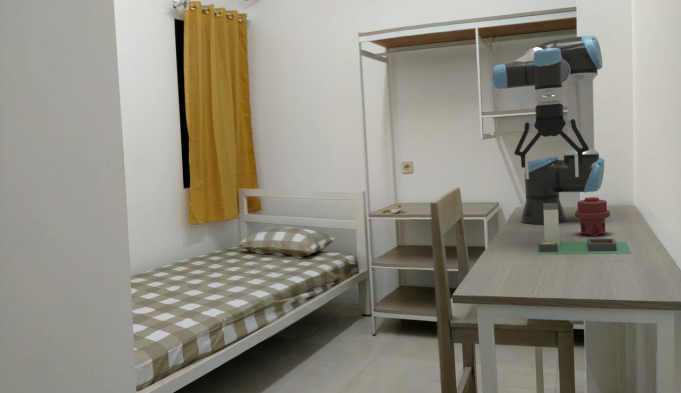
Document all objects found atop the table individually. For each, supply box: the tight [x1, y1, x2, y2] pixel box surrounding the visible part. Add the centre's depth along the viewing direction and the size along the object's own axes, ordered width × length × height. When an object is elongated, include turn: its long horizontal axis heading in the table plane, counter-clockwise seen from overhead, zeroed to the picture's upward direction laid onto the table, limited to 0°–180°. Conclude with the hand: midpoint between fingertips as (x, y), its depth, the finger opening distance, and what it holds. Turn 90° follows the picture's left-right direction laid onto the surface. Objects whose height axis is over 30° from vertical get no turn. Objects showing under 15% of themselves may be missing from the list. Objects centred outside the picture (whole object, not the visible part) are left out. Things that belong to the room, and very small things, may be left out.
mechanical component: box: [574, 196, 611, 237], centre depth 191 cm, size 12×10×10 cm
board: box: [536, 238, 633, 255], centre depth 174 cm, size 16×24×3 cm, turn 71°
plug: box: [543, 203, 560, 246], centre depth 181 cm, size 4×4×12 cm
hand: (551, 177), depth 179 cm, fingers open, 13 cm apart
